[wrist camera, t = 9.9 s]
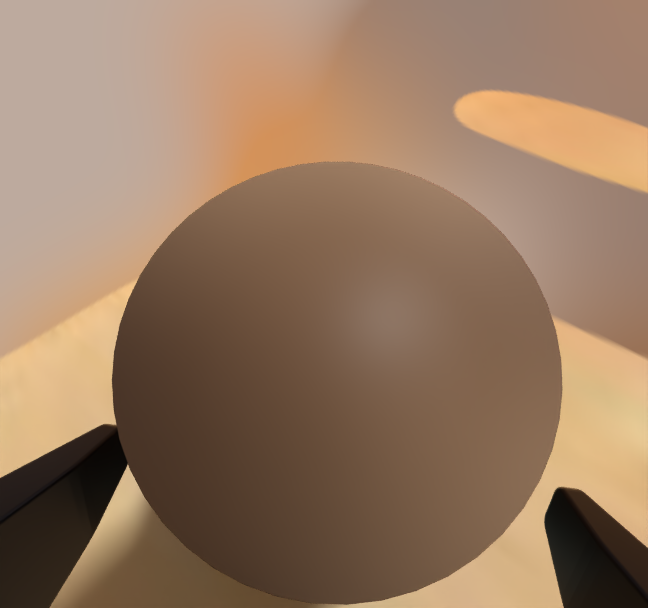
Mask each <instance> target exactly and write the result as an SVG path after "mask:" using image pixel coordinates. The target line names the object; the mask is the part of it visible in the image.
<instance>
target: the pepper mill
mask: <svg viewBox="0 0 648 608" xmlns="http://www.w3.org/2000/svg"><path fill="white" fill-rule="evenodd" d="M112 388H113V406H114V414H115V419H116V424H117V429H118V434H119V439H120V442H121V445H122V448H123V451H124V454H125V456H126V459H127V462H128V465H129V468H130V470H131V472H132V474H133V476H134V478H135V480H136V482H137V484H138V486H139V488H140V490H141V491H142V493H143V495H144V497H145V499H146V500H147V501H148V503H149V504H150V506H151V507H152V508H153V510H154V511H155V512H156V514H157V515H158V517H159V518H160V519H161V521H162V522H163V524H164V525H165V526H166V527H167V528H168V529H169V530H170V531H171V532H172V533H173V534H174V535H175V536H176V537H177V538H178V539H179V540H180V541H181V542H182V543H183V544H184V545H185V546H186V547H187V548H188V549H189V550H191V551H192V552H193V553H195V554H196V555H197V556H199V557H200V558H201V559H202V560H204V561H205V562H206V563H208V564H209V565H210V566H212V567H213V568H215V569H216V570H218V571H220V572H222V573H224V574H226V575H227V576H229V577H231V578H233V579H235V580H237V581H238V582H240V583H242V584H244V585H247V586H249V587H252V588H255V589H258V590H260V591H263V592H266V593H269V594H271V595H274V596H277V597H283V598H288V599H293V600H298V601H303V602H308V603H320V604H346V605H347V604H356V603H364V602H373V601H381V600H385V599H389V598H392V597H396V596H400V595H403V594H407V593H410V592H414V591H417V590H419V589H421V588H424V587H426V586H428V585H430V584H432V583H435V582H437V581H439V580H441V579H443V578H446V577H448V576H449V575H451V574H452V573H454V572H455V571H457V570H458V569H460V568H461V567H463V566H465V565H466V564H468V563H469V562H471V561H472V560H474V559H475V558H477V557H478V556H479V555H480V554H481V553H482V552H483V551H484V550H486V549H487V548H488V547H489V546H490V545H491V544H492V543H493V542H494V541H496V540H497V539H498V538H499V537H500V536H501V535H502V534H503V533H504V532H505V530H506V529H507V528H508V527H509V525H510V524H511V523H512V522H513V521H514V519H515V518H516V517H517V516H518V514H519V513H520V512H521V511H522V509H523V508H524V506H525V505H526V503H527V501H528V500H529V498H530V496H531V495H532V493H533V491H534V489H535V488H536V486H537V484H538V483H539V481H540V479H541V476H542V474H543V471H544V469H545V467H546V464H547V462H548V459H549V457H550V454H551V452H552V448H553V444H554V440H555V436H556V432H557V428H558V424H559V419H560V409H561V399H562V369H561V356H560V351H559V345H558V339H557V334H556V330H555V326H554V323H553V320H552V317H551V314H550V311H549V308H548V304H547V302H546V300H545V298H544V296H543V294H542V291H541V289H540V287H539V285H538V283H537V281H536V279H535V277H534V276H533V274H532V272H531V271H530V269H529V267H528V266H527V264H526V263H525V261H524V260H523V258H522V256H521V255H520V254H519V253H518V251H517V250H516V249H515V248H514V246H513V245H512V244H511V243H510V241H509V240H508V239H507V238H506V236H505V235H504V234H503V233H502V232H501V231H500V230H499V229H498V228H497V227H495V226H494V225H493V224H492V223H491V222H490V221H489V220H488V219H487V218H486V217H485V216H484V215H483V214H481V213H480V212H479V211H477V210H476V209H475V208H473V207H472V206H471V205H470V204H468V203H467V202H466V201H464V200H462V199H461V198H459V197H457V196H456V195H454V194H452V193H451V192H449V191H447V190H446V189H444V188H442V187H440V186H438V185H436V184H434V183H431V182H429V181H427V180H425V179H423V178H421V177H417V176H415V175H412V174H409V173H406V172H403V171H400V170H396V169H392V168H387V167H382V166H378V165H373V164H363V163H355V162H319V163H309V164H300V165H296V166H291V167H286V168H282V169H277V170H274V171H271V172H268V173H265V174H262V175H259V176H256V177H253V178H251V179H248V180H246V181H244V182H242V183H240V184H237V185H235V186H233V187H231V188H229V189H228V190H226V191H224V192H222V193H221V194H219V195H217V196H216V197H214V198H212V199H211V200H209V201H208V202H207V203H205V204H204V205H203V206H201V207H200V208H199V209H197V210H196V211H195V212H193V213H192V214H191V215H189V216H188V217H187V218H186V219H185V220H184V221H183V222H182V223H181V224H180V225H179V226H178V227H177V228H176V229H175V230H174V231H173V232H172V233H171V234H170V235H169V236H168V238H167V239H166V240H165V241H164V242H163V243H162V245H161V246H160V247H159V248H158V249H157V251H156V252H155V253H154V255H153V256H152V258H151V259H150V261H149V263H148V264H147V266H146V267H145V269H144V270H143V272H142V273H141V275H140V277H139V279H138V281H137V283H136V285H135V287H134V289H133V291H132V293H131V295H130V297H129V299H128V302H127V305H126V308H125V311H124V314H123V317H122V320H121V323H120V326H119V331H118V336H117V341H116V346H115V350H114V361H113V374H112Z"/></svg>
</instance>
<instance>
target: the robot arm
mask: <svg viewBox="0 0 648 608" xmlns="http://www.w3.org/2000/svg"><path fill="white" fill-rule="evenodd" d="M127 465H128V462H127V459H126V456H125V454H124V451H123V448H122V445H121V442H120V439H119V434H118V429H117V425H112V424H103V425H101V426H99V427H97V428H95V429H93V430H91V431H89V432H87V433H85V434H83V435H81V436H79V437H78V438H76V439H74V440H72V441H70V442H68V443H66V444H64V445H62V446H60V447H58V448H57V449H55V450H53V451H51V452H49V453H47V454H45V455H43V456H41V457H39V458H38V459H36V460H34V461H32V462H30V463H28V464H26V465H24V466H22V467H20V468H18V469H17V470H15V471H13V472H11V473H9V474H7V475H5V476H3V477H1V478H0V608H49V607H50V606H51V604H52V602H53V601H54V599H55V598H56V596H57V594H58V593H59V591H60V589H61V588H62V586H63V584H64V583H65V581H66V579H67V578H68V576H69V575H70V573H71V571H72V570H73V568H74V566H75V565H76V563H77V561H78V560H79V558H80V557H81V555H82V553H83V552H84V550H85V548H86V547H87V545H88V543H89V541H90V540H91V538H92V536H93V534H94V533H95V531H96V529H97V527H98V525H99V523H100V521H101V519H102V517H103V515H104V513H105V510H106V508H107V506H108V504H109V502H110V500H111V498H112V496H113V494H114V492H115V490H116V488H117V486H118V484H119V482H120V480H121V478H122V475H123V473H124V471H125V469H126V467H127ZM544 523H545V530H546V534H547V539H548V543H549V547H550V552H551V556H552V560H553V564H554V569H555V573H556V577H557V582H558V586H559V590H560V595H561V599H562V603H563V606H564V608H648V548H647V547H646V546H645V545H644V544H643V543H641V542H640V541H639V540H638V539H637V538H636V537H635V536H633V535H632V534H631V533H630V532H629V531H628V530H627V529H625V528H624V527H623V526H622V525H621V524H620V523H619V522H617V521H616V520H615V519H614V518H613V517H612V516H611V515H609V514H608V513H607V512H606V511H605V510H604V509H603V508H601V507H600V506H599V505H598V504H597V503H596V502H594V501H593V500H592V499H591V498H590V497H589V496H588V495H586V494H585V493H584V492H583V491H581V490H579V489H574V488H567V487H558V488H557V489H556V490H555V492H554V494H553V497H552V499H551V502H550V504H549V507H548V509H547V511H546V514H545V521H544Z"/></svg>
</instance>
